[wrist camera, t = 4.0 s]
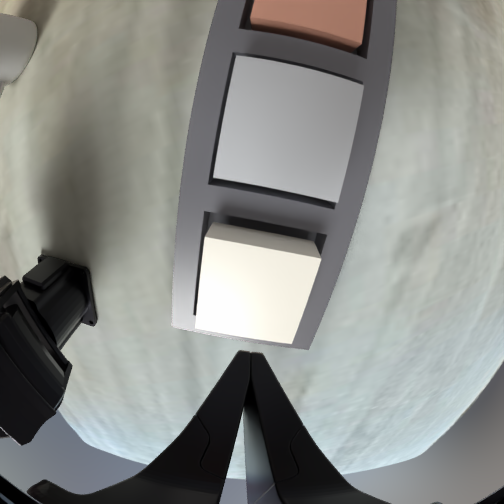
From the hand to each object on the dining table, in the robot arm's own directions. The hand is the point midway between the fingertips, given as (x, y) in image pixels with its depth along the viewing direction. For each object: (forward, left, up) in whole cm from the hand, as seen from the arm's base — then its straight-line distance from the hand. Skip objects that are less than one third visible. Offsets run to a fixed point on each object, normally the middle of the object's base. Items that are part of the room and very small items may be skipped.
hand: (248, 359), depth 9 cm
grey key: (+8, 0, -8) cm, 11 cm away
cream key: (-1, 0, -8) cm, 8 cm away
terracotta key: (+17, 0, -10) cm, 19 cm away
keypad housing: (+8, 0, -11) cm, 13 cm away
